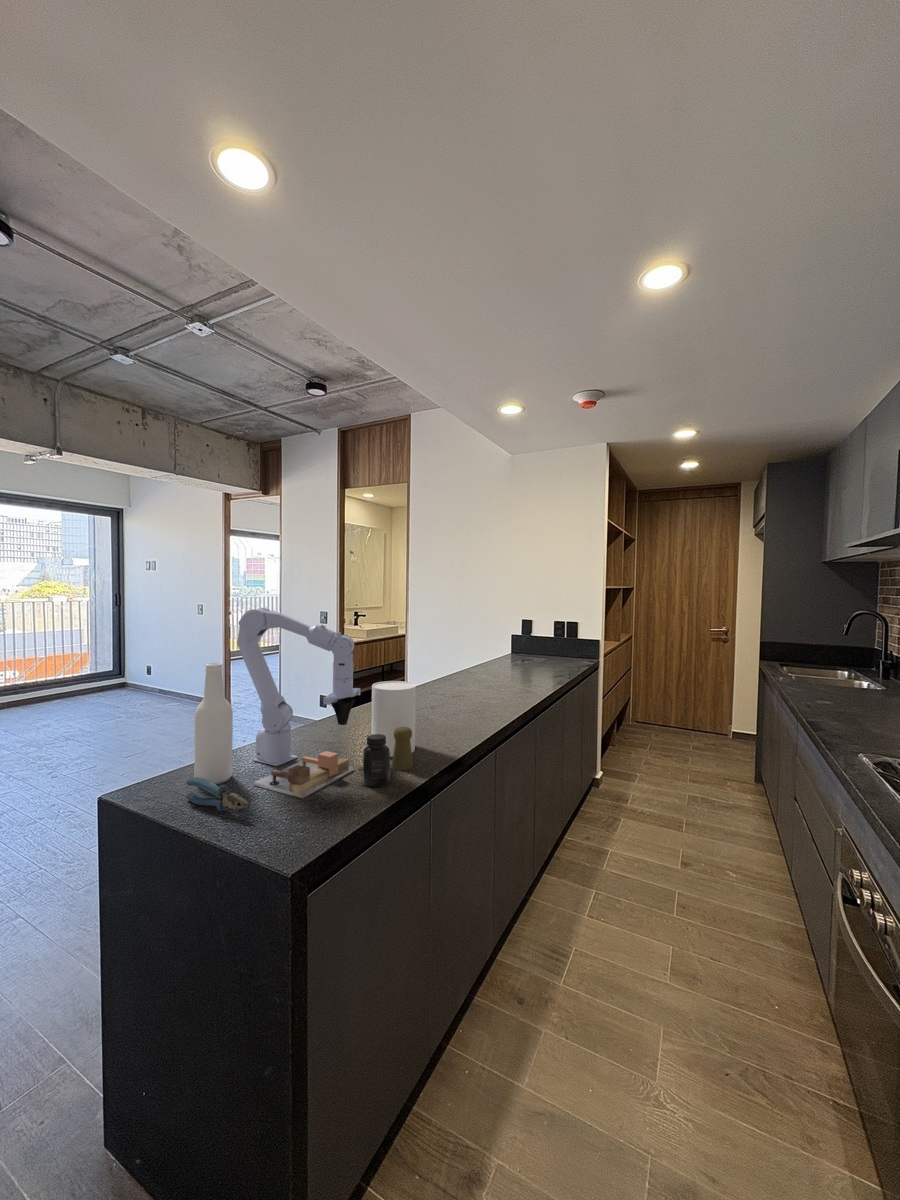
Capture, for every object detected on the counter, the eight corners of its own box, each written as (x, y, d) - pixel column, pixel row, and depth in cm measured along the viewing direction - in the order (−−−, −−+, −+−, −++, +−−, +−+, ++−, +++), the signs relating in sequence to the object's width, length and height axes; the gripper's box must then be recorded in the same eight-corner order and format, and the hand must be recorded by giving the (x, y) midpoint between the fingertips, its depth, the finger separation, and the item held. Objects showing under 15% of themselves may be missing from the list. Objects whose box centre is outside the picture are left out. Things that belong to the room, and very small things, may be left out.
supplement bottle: (393, 779, 128) (394, 734, 127) (382, 789, 121) (382, 742, 121) (370, 775, 130) (371, 731, 130) (357, 785, 124) (358, 738, 123)
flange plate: (253, 785, 123) (253, 781, 123) (308, 760, 141) (308, 757, 141) (302, 798, 116) (302, 794, 116) (353, 770, 134) (354, 767, 134)
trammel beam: (267, 785, 121) (267, 765, 120) (321, 760, 139) (321, 742, 138) (299, 794, 116) (299, 772, 116) (351, 766, 134) (351, 748, 134)
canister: (423, 747, 154) (424, 684, 153) (396, 759, 142) (397, 691, 142) (390, 739, 161) (391, 679, 160) (361, 750, 150) (362, 686, 149)
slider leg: (299, 769, 131) (299, 750, 130) (307, 765, 133) (307, 747, 133) (330, 776, 126) (330, 757, 126) (337, 772, 129) (338, 753, 129)
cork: (391, 762, 140) (392, 724, 140) (413, 762, 141) (413, 724, 140) (391, 770, 134) (391, 730, 134) (413, 770, 135) (413, 730, 134)
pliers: (250, 818, 106) (250, 791, 105) (242, 822, 104) (242, 795, 104) (193, 797, 115) (193, 772, 115) (184, 801, 113) (184, 775, 113)
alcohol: (213, 771, 131) (213, 660, 131) (239, 775, 129) (240, 662, 128) (186, 783, 123) (186, 665, 122) (214, 788, 120) (214, 667, 120)
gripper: (338, 683, 133) (337, 732, 133) (369, 674, 146) (368, 720, 146) (317, 680, 136) (317, 729, 136) (349, 672, 149) (349, 716, 149)
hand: (342, 724), depth 141 cm, fingers closed
